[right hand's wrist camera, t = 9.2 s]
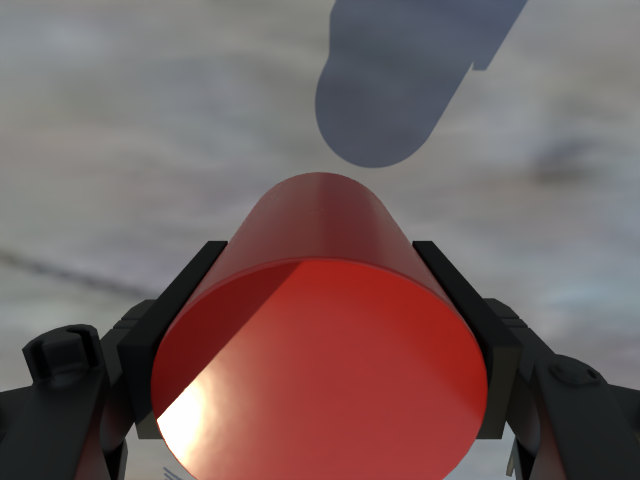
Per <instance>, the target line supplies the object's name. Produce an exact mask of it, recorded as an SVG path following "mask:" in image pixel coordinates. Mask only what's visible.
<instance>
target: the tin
mask: <svg viewBox="0 0 640 480" xmlns="http://www.w3.org/2000/svg"><path fill="white" fill-rule="evenodd" d="M487 396H488V382H487V371H486V366H485V362H484V358H483V355H482V351H481V349H480V347H479V345H478V342H477V340H476V338H475V336H474V334H473V332H472V331H471V329H470V328H469V326H468V325H467V323H466V322H465V320H464V319H463V318H462V316H461V315H460V313H459V312H458V310H457V309H456V308H455V306H454V305H453V303H452V302H451V300H450V299H449V298H448V296H447V295H446V293H445V292H444V290H443V289H442V288H441V286H440V285H439V283H438V282H437V280H436V279H435V278H434V276H433V275H432V273H431V272H430V270H429V269H428V268H427V266H426V265H425V263H424V262H423V260H422V259H421V258H420V256H419V255H418V253H417V252H416V250H415V249H414V248H413V246H412V245H411V243H410V242H409V240H408V239H407V238H406V236H405V235H404V233H403V232H402V230H401V229H400V228H399V226H398V225H397V223H396V222H395V220H394V219H393V218H392V216H391V215H390V213H389V212H388V210H387V209H386V208H385V206H384V205H383V203H382V202H381V201H380V200H379V198H378V197H377V196H376V195H375V194H374V193H373V192H372V191H370V190H369V189H368V188H367V187H365V186H364V185H362V184H360V183H359V182H357V181H355V180H353V179H351V178H348V177H345V176H342V175H339V174H333V173H323V172H315V173H306V174H301V175H297V176H294V177H291V178H289V179H286V180H284V181H282V182H281V183H279V184H277V185H276V186H274V187H273V188H271V189H270V190H269V191H268V192H267V193H266V194H265V195H264V196H263V197H261V199H260V200H259V201H258V203H257V204H256V205H255V206H254V208H253V209H252V211H251V212H250V214H249V215H248V216H247V218H246V219H245V221H244V222H243V223H242V225H241V226H240V228H239V229H238V230H237V232H236V233H235V235H234V236H233V237H232V239H231V240H230V242H229V243H228V245H227V246H226V247H225V249H224V250H223V252H222V253H221V254H220V256H219V257H218V259H217V260H216V261H215V263H214V264H213V266H212V267H211V268H210V270H209V271H208V273H207V274H206V276H205V277H204V278H203V280H202V281H201V283H200V284H199V285H198V287H197V288H196V290H195V291H194V292H193V294H192V295H191V297H190V298H189V299H188V301H187V302H186V304H185V305H184V307H183V308H182V309H181V311H180V312H179V314H178V315H177V316H176V318H175V319H174V321H173V322H172V323H171V325H170V326H169V328H168V330H167V332H166V333H165V335H164V337H163V339H162V341H161V343H160V345H159V348H158V350H157V353H156V356H155V359H154V363H153V369H152V375H151V403H152V408H153V414H154V418H155V421H156V424H157V426H158V429H159V432H160V434H161V436H162V438H163V440H164V442H165V443H166V445H167V447H168V449H169V450H170V451H171V453H172V454H173V455H174V457H175V458H176V460H177V461H178V462H179V463H180V464H181V465H182V466H183V467H184V468H185V469H186V471H187V472H188V473H189V474H190V475H192V476H193V477H194V478H195V479H196V480H443V479H444V478H445V477H446V476H447V475H448V474H449V473H450V472H451V471H452V470H453V469H454V468H455V467H456V466H457V465H458V464H459V463H460V461H461V460H462V459H463V458H464V456H465V455H466V454H467V452H468V451H469V449H470V448H471V446H472V444H473V443H474V441H475V439H476V437H477V435H478V433H479V430H480V428H481V426H482V423H483V419H484V415H485V411H486V407H487Z"/></svg>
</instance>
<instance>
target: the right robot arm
mask: <svg viewBox="0 0 640 480" xmlns="http://www.w3.org/2000/svg"><path fill="white" fill-rule="evenodd" d="M227 245H228V241H208V242H207V243H206V244H205V245H204V246H203V248H202V249H201V250H200V251H199V252H198V253H197V254H196V256H195V257H194V258H193V259H192V260H191V261H190V262H189V264H188V265H187V266H186V267H185V268H184V269H183V270H182V271H181V273H180V274H179V275H178V276H177V277H176V278H175V279H174V281H173V282H172V283H171V284H170V285H169V286H168V287H167V289H166V290H165V291H164V292H163V293H162V294H161V295H160V296H159V298H158V299H157V300H144V301H143V302H141V303H139V304H138V305H136V306H134V307H132V308H131V309H130V310H129V311H128V312H127V313H126V314H125V315H124V316H123V317H122V318H121V320H119V321H118V322H117V323H116V324H115V325H114V326H113V329H110V330H109V331H108V332H107V333H106V335H105V336H104V337H103V338H102V339H101V340H99V336H98V332H97V329H96V328H94V327H93V326H91V325H85V324H77V325H68V326H64V327H60V328H56V329H53V330H51V331H49V332H46V333H44V334H41V335H40V336H38V337H36V338H35V339H33V340H32V341H30V342H29V343H28V344H27V345H26V346H25V347H24V348H23V349H22V351H23V354H24V357H25V360H26V362H27V365H28V368H29V371H30V374H31V376H32V379H33V384H32V386H28V387H23V388H18V389H14V390H9V391H4V392H0V480H124V476H125V469H126V462H127V455H128V449H127V443H126V439H125V436H126V435H127V433H128V431H129V430H130V428H131V426H132V425H133V423H134V422H135V425H136V430H137V434H138V438H139V439H163V438H162V436H161V434H160V432H159V429H158V426H157V424H156V421H155V418H154V414H153V408H152V403H151V375H152V369H153V363H154V359H155V356H156V353H157V350H158V348H159V345H160V343H161V341H162V339H163V337H164V335H165V333H166V332H167V330H168V328H169V326H170V325H171V323H172V322H173V321H174V319H175V318H176V316H177V315H178V314H179V312H180V311H181V309H182V308H183V307H184V305H185V304H186V302H187V301H188V299H189V298H190V297H191V295H192V294H193V292H194V291H195V290H196V288H197V287H198V285H199V284H200V283H201V281H202V280H203V278H204V277H205V276H206V274H207V273H208V271H209V270H210V268H211V267H212V266H213V264H214V263H215V261H216V260H217V259H218V257H219V256H220V254H221V253H222V252H223V250H224V249H225V247H226V246H227ZM412 246H413V248H414V249H415V250H416V252H417V253H418V255H419V256H420V258H421V259H422V260H423V262H424V263H425V265H426V266H427V268H428V269H429V270H430V272H431V273H432V275H433V276H434V278H435V279H436V280H437V282H438V283H439V285H440V286H441V288H442V289H443V290H444V292H445V293H446V295H447V296H448V298H449V299H450V300H451V302H452V303H453V305H454V306H455V308H456V309H457V310H458V312H459V313H460V315H461V316H462V318H463V319H464V320H465V322H466V323H467V325H468V326H469V328H470V329H471V331H472V332H473V334H474V336H475V338H476V340H477V342H478V345H479V347H480V349H481V351H482V355H483V358H484V362H485V366H486V371H487V382H488V396H487V407H486V411H485V415H484V419H483V423H482V426H481V428H480V430H479V433H478V435H477V437H476V439H502V435H503V431H504V427H505V422H506V421H507V423H508V424H509V426H510V428H511V429H512V431H513V432H514V434H515V439H514V443H513V447H512V451H511V454H510V458H509V462H508V466H507V472H506V475H507V476H510V477H511V476H512V473H513V469H514V468H515V475H516V480H640V391H639V390H634V389H630V388H625V387H620V386H615V385H610V384H608V383H607V381H606V380H605V379H604V378H603V377H602V375H601V374H600V373H599V372H597V371H596V370H595V369H593V368H592V367H590V366H589V365H587V364H585V363H583V362H581V361H579V360H577V359H574V358H571V357H567V356H564V355H558V354H555V353H554V352H553V351H552V350H551V349H550V348H549V347H548V346H547V345H546V344H545V343H544V342H543V341H542V340H541V339H540V338H539V337H538V336H537V335H536V334H535V333H534V332H533V331H532V330H531V329H530V328H528V325H527V324H526V323H525V322H524V321H523V320H522V319H519V316H518V315H517V314H516V313H515V312H514V311H513V310H512V309H511V308H510V307H508V306H507V305H505V304H503V303H502V302H500V301H498V300H496V299H495V298H482V297H481V296H480V295H479V294H478V293H477V292H476V291H475V289H474V288H473V287H472V286H471V285H470V284H469V283H468V281H467V280H466V279H465V278H464V277H463V276H462V275H461V273H460V272H459V271H458V270H457V269H456V268H455V267H454V266H453V264H452V263H451V262H450V261H449V260H448V259H447V258H446V256H445V255H444V254H443V253H442V252H441V251H440V250H439V248H438V247H437V246H436V245H435V244H434V243H433V242H432V241H413V243H412Z"/></svg>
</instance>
